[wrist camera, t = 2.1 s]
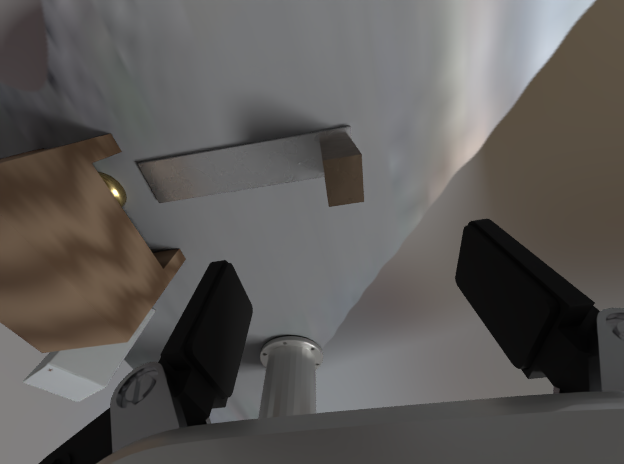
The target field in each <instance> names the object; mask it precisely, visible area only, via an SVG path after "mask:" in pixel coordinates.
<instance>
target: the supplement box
mask: <svg viewBox="0 0 624 464" xmlns="http://www.w3.org/2000/svg"><path fill="white" fill-rule="evenodd" d="M154 312H155V310H154V309H152V308H151V310H150V311H149V313H148V314H147V315H146V317H145V318H144V320H143V321H142V323H141V324H140V325H139V327H138V328H137V330H136V331H135V333H134V334H133V335H132V337H131V338H130V340H129V341H128V342H125V343H117V344H109V345H102V346H94V347H86V348H78V349H70V350H62V351H54V352H50V353H49V354H48V355H47V356H46V357H45V358H44V360H42V362H41V363H40V364H39V365H38V366H37V367H36V368H35V369H34V370H33V371H32V372H31V373H30V374H29V376H28V377H27V378H26V379H25V380H24V381H23V382H24V383H26V384H29V385H32V386H35V387H37V388H40V389H43V390H46V391H49V392H51V393H54V394H57V395H60V396H62V397H65V398H68V399H70V400H73V401H76V402H79V401H81V400H83V399H85V398H87V397H88V396H90V395H92V394H94V393H96V392H98V391H99V390H101V389H104V388H106V387H107V385H108V383H109V382H110V380H111V378H112V377H113V375H114V374H115V372H116V370H117V369H118V367H119V366H120V364H121V363H122V361H123V360H124V358H125V357H126V355H127V354H128V352H129V351H130V349H131V348H132V346H133V345H134V343H135V342H136V340H137V339H138V337H139V336H140V334H141V333H142V331H143V329H144V328H145V326H146V325H147V323H148V322H149V320H150V318H151V317H152V315H153V314H154Z"/></svg>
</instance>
